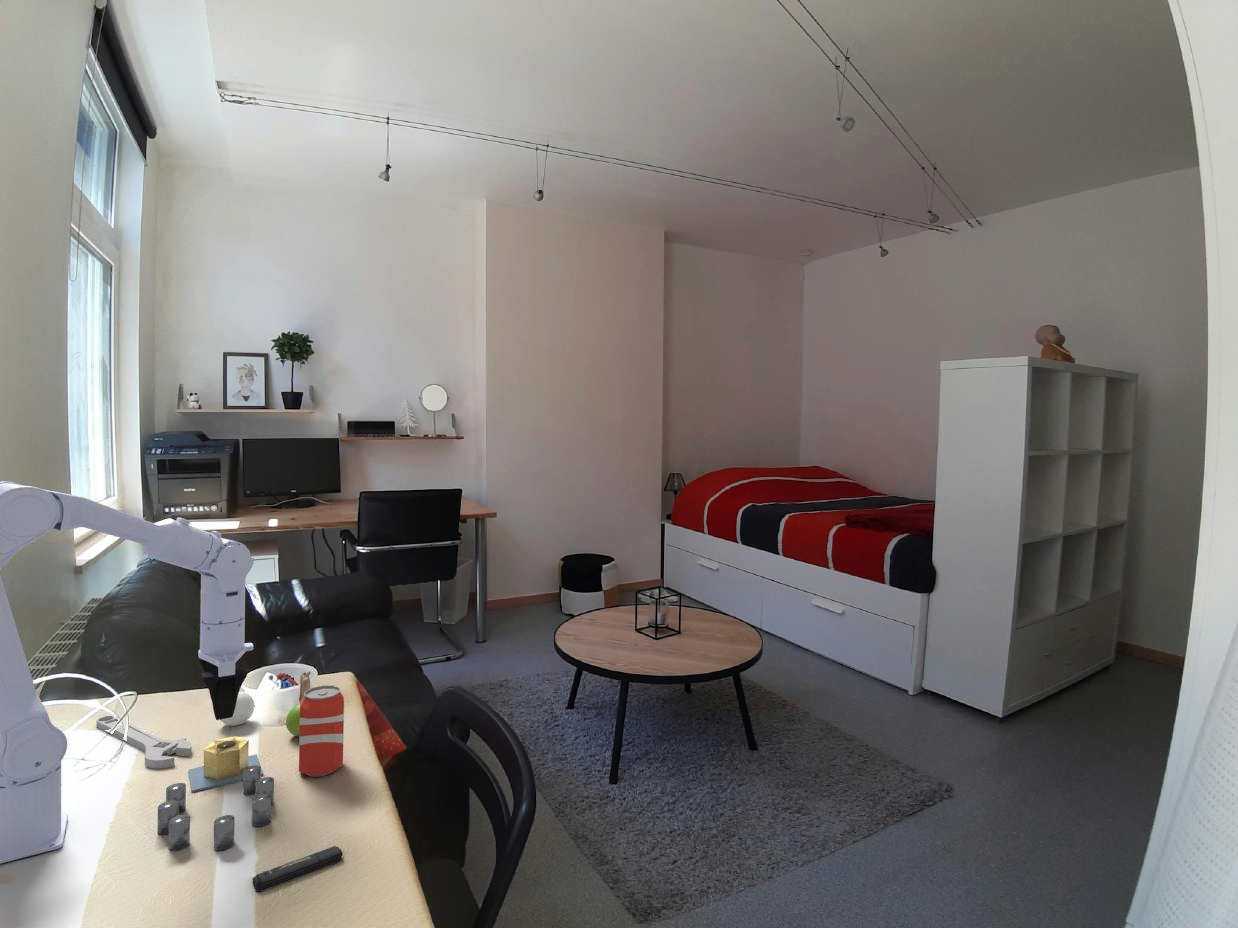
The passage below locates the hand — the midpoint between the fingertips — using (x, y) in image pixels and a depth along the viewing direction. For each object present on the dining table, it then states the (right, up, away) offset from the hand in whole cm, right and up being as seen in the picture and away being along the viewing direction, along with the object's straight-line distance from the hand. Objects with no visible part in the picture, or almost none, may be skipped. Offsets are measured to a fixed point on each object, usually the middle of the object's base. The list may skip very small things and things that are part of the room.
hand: (221, 708), depth 99 cm
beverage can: (+14, -10, +2) cm, 17 cm away
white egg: (-8, -9, +17) cm, 20 cm away
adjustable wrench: (-18, -9, +9) cm, 22 cm away
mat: (+1, -10, -1) cm, 10 cm away
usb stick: (+22, -12, -22) cm, 33 cm away
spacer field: (+7, -10, -13) cm, 18 cm away
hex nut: (+1, -9, 0) cm, 9 cm away
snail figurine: (+6, -9, +12) cm, 17 cm away
